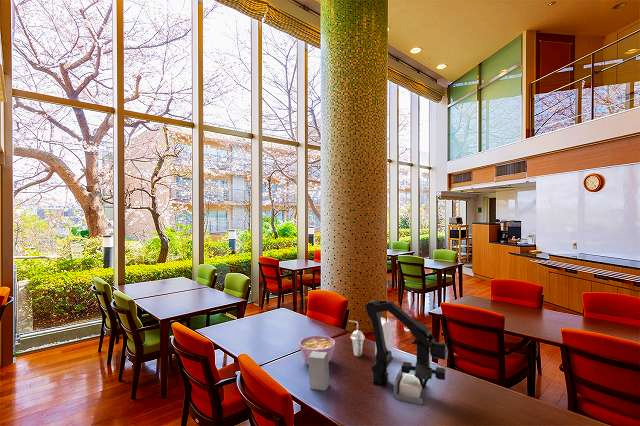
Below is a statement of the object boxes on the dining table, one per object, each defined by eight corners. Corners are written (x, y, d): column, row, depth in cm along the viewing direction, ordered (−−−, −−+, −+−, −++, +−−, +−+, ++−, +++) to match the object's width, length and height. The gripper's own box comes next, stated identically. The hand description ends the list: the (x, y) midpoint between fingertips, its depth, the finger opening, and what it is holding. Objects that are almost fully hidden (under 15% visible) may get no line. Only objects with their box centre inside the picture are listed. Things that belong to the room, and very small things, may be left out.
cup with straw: (361, 358, 183) (361, 323, 183) (347, 355, 188) (346, 321, 188) (367, 352, 191) (366, 319, 191) (353, 349, 195) (352, 316, 195)
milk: (383, 358, 183) (382, 319, 183) (375, 355, 188) (374, 317, 188) (390, 355, 186) (389, 317, 186) (382, 352, 191) (381, 315, 191)
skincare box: (329, 384, 156) (329, 351, 156) (325, 392, 149) (324, 358, 149) (313, 381, 159) (312, 349, 159) (308, 389, 152) (307, 355, 152)
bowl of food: (293, 368, 173) (292, 346, 173) (308, 353, 192) (308, 333, 192) (328, 374, 166) (327, 352, 166) (340, 358, 184) (340, 337, 184)
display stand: (393, 398, 143) (393, 385, 143) (400, 380, 158) (400, 368, 158) (421, 404, 138) (421, 390, 138) (426, 385, 153) (426, 373, 153)
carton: (399, 395, 146) (399, 383, 146) (404, 383, 156) (403, 372, 156) (419, 399, 143) (418, 387, 143) (422, 387, 153) (422, 376, 153)
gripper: (398, 358, 143) (399, 394, 143) (443, 366, 135) (444, 403, 135) (403, 348, 153) (403, 381, 153) (445, 355, 145) (446, 390, 145)
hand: (423, 389), depth 146 cm, fingers closed
